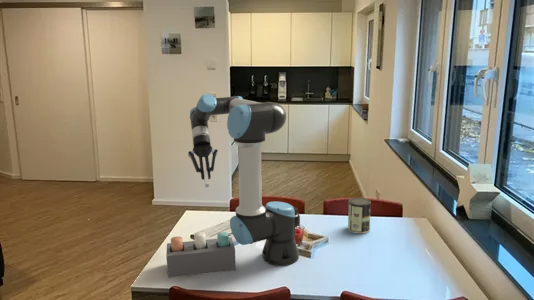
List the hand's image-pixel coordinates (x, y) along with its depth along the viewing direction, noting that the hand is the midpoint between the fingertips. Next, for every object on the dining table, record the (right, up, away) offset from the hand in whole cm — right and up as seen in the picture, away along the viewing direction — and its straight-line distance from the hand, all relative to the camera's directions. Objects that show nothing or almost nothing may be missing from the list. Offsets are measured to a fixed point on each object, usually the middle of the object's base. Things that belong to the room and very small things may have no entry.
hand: (207, 185), depth 188 cm
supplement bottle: (+37, -24, +21) cm, 49 cm away
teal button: (+8, -24, -9) cm, 27 cm away
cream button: (-1, -24, -11) cm, 26 cm away
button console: (-1, -32, -9) cm, 33 cm away
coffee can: (+68, -23, +24) cm, 76 cm away
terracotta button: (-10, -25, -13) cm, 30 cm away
